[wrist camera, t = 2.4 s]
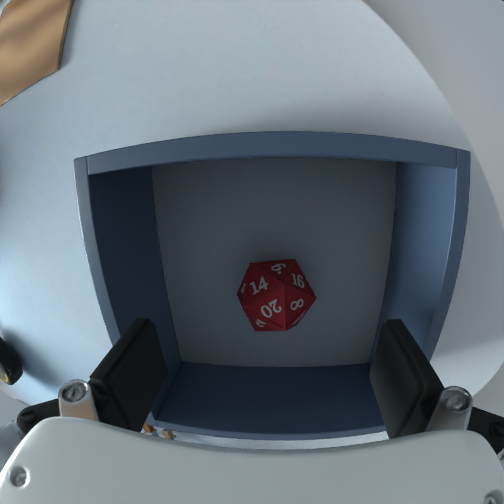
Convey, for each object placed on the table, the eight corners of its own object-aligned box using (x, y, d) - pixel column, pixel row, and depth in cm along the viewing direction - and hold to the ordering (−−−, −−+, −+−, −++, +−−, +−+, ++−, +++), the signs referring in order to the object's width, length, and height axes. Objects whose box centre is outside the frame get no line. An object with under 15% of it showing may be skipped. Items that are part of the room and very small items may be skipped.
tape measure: (28, 360, 23) (12, 376, 20) (25, 378, 25) (11, 393, 22) (-4, 322, 22) (-20, 336, 19) (-4, 345, 24) (-18, 357, 21)
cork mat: (6, 7, 9) (3, 7, 8) (94, -54, 7) (92, -56, 7) (-20, 123, 14) (-22, 123, 13) (59, 69, 12) (56, 68, 12)
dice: (281, 232, 15) (282, 257, 11) (321, 292, 16) (332, 330, 12) (227, 266, 16) (212, 299, 12) (269, 320, 17) (266, 362, 13)
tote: (138, 155, 14) (72, 159, 9) (408, 150, 13) (470, 151, 7) (174, 367, 19) (147, 425, 14) (375, 369, 18) (396, 429, 12)
